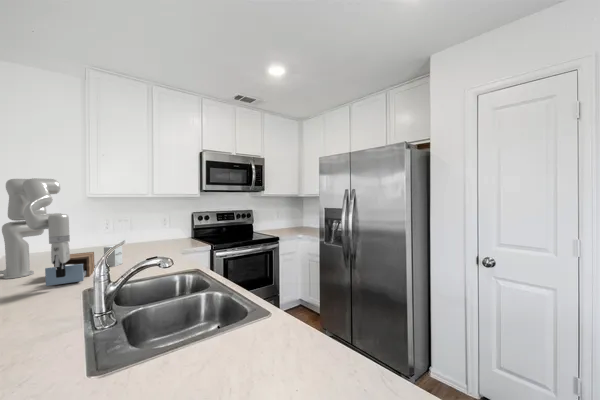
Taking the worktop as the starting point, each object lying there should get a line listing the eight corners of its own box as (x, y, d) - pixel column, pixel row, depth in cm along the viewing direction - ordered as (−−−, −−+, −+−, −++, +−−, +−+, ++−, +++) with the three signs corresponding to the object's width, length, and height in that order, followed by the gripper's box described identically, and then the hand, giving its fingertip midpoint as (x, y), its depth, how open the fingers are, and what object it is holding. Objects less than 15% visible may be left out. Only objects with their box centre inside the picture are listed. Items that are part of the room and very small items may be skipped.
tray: (55, 278, 144) (54, 262, 144) (89, 274, 151) (88, 258, 151) (45, 285, 132) (45, 268, 132) (83, 280, 139) (82, 264, 138)
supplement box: (115, 266, 171) (114, 247, 171) (103, 266, 171) (103, 247, 171) (123, 263, 178) (122, 244, 178) (112, 263, 179) (111, 245, 178)
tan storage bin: (62, 274, 156) (62, 254, 155) (94, 270, 163) (93, 251, 163) (54, 281, 143) (53, 259, 143) (89, 276, 150) (88, 256, 150)
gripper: (64, 241, 125) (66, 279, 125) (73, 236, 138) (75, 271, 138) (43, 242, 121) (45, 282, 122) (54, 238, 134) (56, 274, 135)
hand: (61, 276), depth 130 cm, fingers closed
